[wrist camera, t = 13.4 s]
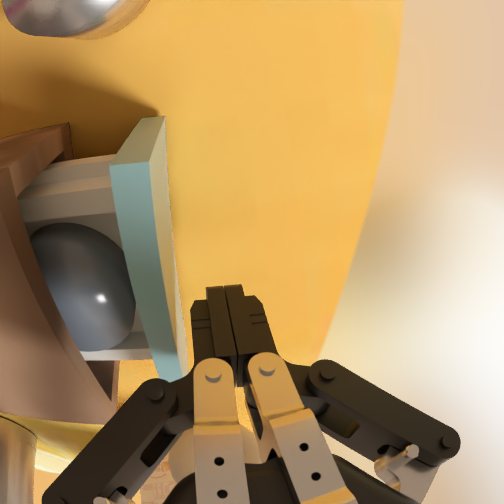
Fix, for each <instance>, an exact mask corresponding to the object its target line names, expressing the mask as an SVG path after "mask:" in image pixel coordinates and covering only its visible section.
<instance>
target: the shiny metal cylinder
mask: <svg viewBox="0 0 504 504" xmlns="http://www.w3.org/2000/svg"><path fill="white" fill-rule="evenodd" d="M149 1H150V0H3V8H4V12H5V14H6V17H7V19H8V20H9V22H10V23H11V24H12V25H13V26H14V27H15V28H16V29H18V30H19V31H21V32H23V33H26V34H29V35H34V36H48V37H61V38H72V39H81V40H91V39H97V38H101V37H105V36H108V35H111V34H113V33H115V32H117V31H119V30H120V29H122V28H124V27H125V26H127V25H128V24H129V23H131V22H132V21H133V20H134V19H135V18H137V16H138V15H139V14H140V13H141V12H142V11H143V10H144V8H145V7H146V6H147V4H148V2H149Z"/></svg>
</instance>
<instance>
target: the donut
mask: <svg viewBox="0 0 504 504" xmlns="http://www.w3.org/2000/svg"><path fill="white" fill-rule="evenodd" d="M240 431H241V439H242V447H243V455H244V463H252V464H262V462H261V459H260V455H259V451H258V444H257V440H256V437H255V434H254V433H253V432H251V431H250V430H248V429H247V428H245V427H244V426H242V425H240ZM168 464H169V468H170V471H171V475H172V477H173V479H174V480H175V482H176V483H178V482H179V481H181V480H182V479H183V478H184V477H186V476H188V475H189V474H191V473H193V472H195V463H194V440H193V428H191V429H188V430H186V431H184V432H183V434H182V435H181V437H180V438H179V439H178V441H177V442H176V443H175V444H174V446H173V447H172V448H171V450H170V451H169V457H168Z"/></svg>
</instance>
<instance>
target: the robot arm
mask: <svg viewBox="0 0 504 504" xmlns="http://www.w3.org/2000/svg"><path fill="white" fill-rule="evenodd" d="M190 312H191V326H192V338H193V349H194V366H193V368H192V370H191V371H190V372H189V373H188V374H187V375H186V376H184V377H182V378H180V379H178V380H175V381H172V382H168V381H166V380H164V379H159V378H154V379H150V380H147V381H145V382H144V383H142V384H141V385H140V387H139V388H138V389H137V390H136V391H135V392H134V393H133V394H132V395H131V397H130V398H129V399H128V400H127V401H126V402H125V403H124V404H123V406H122V407H121V408H120V409H119V410H118V411H117V412H116V413H115V414H114V416H113V417H112V418H111V419H110V420H109V421H108V422H107V423H106V424H105V426H104V427H103V428H102V429H101V430H100V431H99V432H98V433H97V434H96V436H95V437H94V438H93V439H92V440H91V441H90V442H89V443H88V444H87V446H86V447H85V448H84V449H83V450H82V451H81V452H80V453H79V454H78V456H77V457H76V458H75V459H74V460H73V461H72V462H71V463H70V464H69V465H68V467H67V468H66V469H65V470H64V471H63V472H62V473H61V474H60V475H59V477H58V478H57V479H56V480H55V481H54V482H53V483H52V484H51V485H50V486H49V488H48V489H47V490H46V491H45V492H44V494H43V496H42V504H135V502H134V501H133V500H132V497H133V496H134V495H135V494H136V493H137V491H138V490H139V489H140V488H141V486H142V485H143V484H144V483H145V482H146V480H147V479H148V478H149V477H150V475H151V474H152V473H153V471H154V470H155V469H156V468H157V466H158V465H159V464H160V463H161V461H162V460H163V459H164V457H165V456H166V455H167V454H168V452H169V451H170V450H171V448H172V447H173V446H174V444H175V443H176V442H177V441H178V439H179V438H180V437H181V435H182V434H183V432H184V431H186V430H188V429H191V428H193V440H194V463H195V472H193V473H191V474H189V475H188V476H186V477H184V478H183V479H182V480H181V481H179V482H178V483H177V484H176V485H175V487H174V488H173V489H172V491H171V492H170V494H169V495H168V496H167V498H166V499H165V501H164V502H163V504H421V503H422V501H423V499H424V497H425V495H426V493H427V491H428V489H429V487H430V485H431V483H432V481H433V479H434V477H435V474H436V473H437V470H438V468H439V466H440V465H441V464H442V463H444V462H446V461H447V460H449V459H450V458H452V457H454V456H455V455H456V454H457V453H458V451H459V449H460V443H461V442H460V437H459V435H458V433H457V432H456V431H455V430H454V429H453V428H451V427H449V426H447V425H445V424H444V423H442V422H440V421H438V420H436V419H434V418H432V417H430V416H429V415H427V414H425V413H423V412H421V411H419V410H418V409H416V408H414V407H412V406H410V405H409V404H407V403H405V402H403V401H401V400H399V399H398V398H396V397H394V396H392V395H391V394H389V393H387V392H385V391H384V390H382V389H380V388H378V387H377V386H375V385H373V384H372V383H370V382H368V381H366V380H364V379H363V378H361V377H360V376H358V375H356V374H355V373H353V372H351V371H349V370H348V369H346V368H345V367H343V366H341V365H340V364H338V363H336V362H334V361H332V360H319V361H316V362H315V363H313V364H312V365H311V366H302V365H295V364H291V363H289V362H287V361H285V360H284V359H282V358H281V357H280V355H279V354H278V352H277V350H276V347H275V343H274V340H273V337H272V334H271V331H270V327H269V324H268V322H267V318H266V315H265V311H264V308H263V305H262V303H261V302H260V301H259V300H258V299H257V297H256V296H255V295H254V296H244V292H243V288H242V285H241V284H240V285H227V286H224V287H223V286H215V287H206V300H195V301H194V303H193V305H192V307H191V309H190ZM236 384H237V387H243V388H244V392H245V405H246V408H247V412H248V415H249V418H250V421H251V424H252V427H253V430H254V434H255V437H256V440H257V444H258V451H259V455H260V459H261V462H262V464H252V463H244V455H243V447H242V439H241V431H240V424H239V422H238V415H237V406H236V397H235V386H236ZM321 431H323V432H324V433H326V434H328V435H329V436H331V437H332V438H334V439H336V440H337V441H339V442H340V443H342V444H344V445H345V446H347V447H349V448H350V449H352V450H354V451H356V452H357V453H359V454H361V455H362V456H364V457H366V458H368V459H370V460H371V461H373V462H375V464H374V469H375V472H376V475H377V476H378V477H379V478H380V479H381V480H383V481H384V482H385V483H386V484H384V483H383V482H381V481H379V480H377V479H376V478H374V477H372V476H371V475H369V474H367V473H366V472H364V471H362V470H361V469H359V468H358V467H356V466H354V465H353V464H351V463H350V462H348V461H347V460H345V459H343V458H341V457H339V456H337V455H334V454H331V452H330V449H329V447H328V445H327V443H326V440H325V438H324V436H323V434H322V432H321ZM36 443H37V438H36V437H35V436H34V435H33V434H32V433H31V432H29V431H28V430H26V429H25V428H23V427H21V426H19V425H18V424H16V423H13V422H11V421H9V420H7V419H4V418H2V417H0V504H33V485H34V465H35V453H36Z"/></svg>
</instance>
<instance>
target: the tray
mask: <svg viewBox="0 0 504 504" xmlns="http://www.w3.org/2000/svg"><path fill="white" fill-rule="evenodd" d="M17 201H18V205H19V208H20V212H21V215H22V218H23V221H24V225H25V228H26V231H27V234H28V237H30V235H31V234H33V233H34V232H35V231H36V230H38V229H40V228H41V227H44V226H46V225H49V224H53V223H61V222H69V223H76V224H81V225H84V226H87V227H90V228H93V229H95V230H97V231H99V232H101V233H102V234H104V235H106V236H107V237H109V238H110V239H111V240H112V241H114V242H115V243H116V244H117V245H118V246H119V247H120V248H121V249H122V250H123V251H124V255H125V260H126V264H127V268H128V273H129V277H130V281H131V285H132V289H133V293H134V297H135V300H136V309H135V317H134V324H133V327H132V330H131V331H130V333H129V335H128V336H127V337H126V338H125V339H124V340H123V341H122V342H121V343H119V344H118V345H116V346H114V347H112V348H109V349H106V350H101V351H93V352H84V351H80V353H81V354H82V356H83V358H84V360H143V359H153V360H154V363H155V366H156V369H157V372H158V375H159V378H160V379H164V380H166V381H168V382H172V381H175V380H178V379H180V378H182V377H184V376H186V375H187V374H188V373H189V369H188V357H187V344H186V333H185V327H184V320H183V313H182V307H181V299H180V292H179V284H178V277H177V268H176V260H175V251H174V241H173V231H172V221H171V209H170V197H169V183H168V167H167V148H166V121H165V116H158V117H146V118H141V120H140V121H139V122H138V124H137V125H136V126H135V128H134V129H133V131H132V132H131V134H130V135H129V136H128V138H127V139H126V141H125V142H124V144H123V145H122V147H121V148H120V149H119V151H118V152H117V154H112V155H104V156H96V157H89V158H82V159H76V160H69V161H63V162H57V163H52V164H49V165H48V166H47V167H46V168H45V169H43V170H42V171H41V172H40V173H39V174H38V175H37V176H36V177H35V178H34V180H33V181H32V182H31V183H30V184H29V185H28V186H27V187H26V188H25V189H24V190H23V191H22V192H21V193H20V194H19V195H18V196H17Z"/></svg>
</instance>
